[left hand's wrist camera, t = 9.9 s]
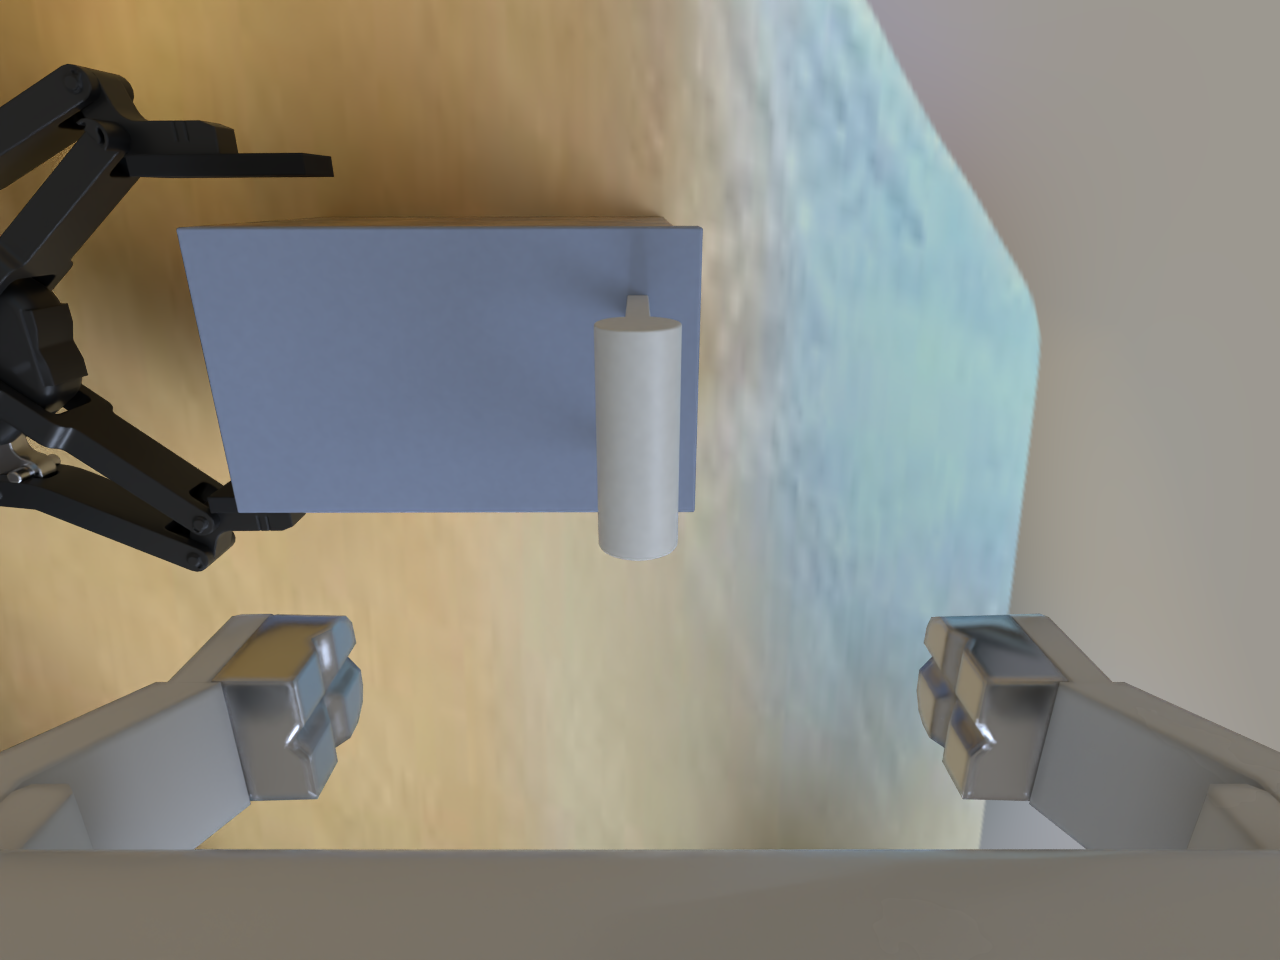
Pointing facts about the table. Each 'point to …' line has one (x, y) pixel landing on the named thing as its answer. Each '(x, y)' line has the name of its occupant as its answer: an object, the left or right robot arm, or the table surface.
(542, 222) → the chest
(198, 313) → the lid
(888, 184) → the table surface
